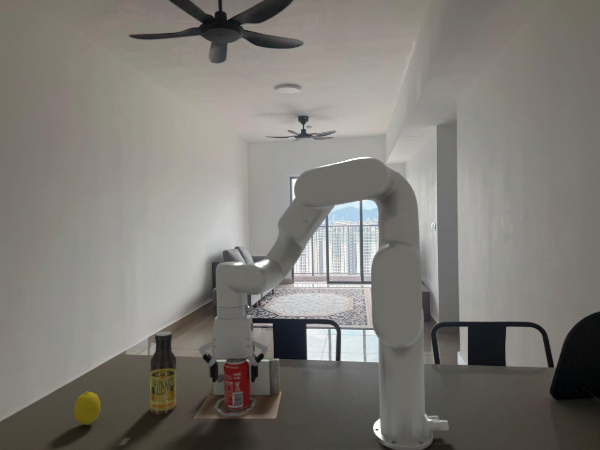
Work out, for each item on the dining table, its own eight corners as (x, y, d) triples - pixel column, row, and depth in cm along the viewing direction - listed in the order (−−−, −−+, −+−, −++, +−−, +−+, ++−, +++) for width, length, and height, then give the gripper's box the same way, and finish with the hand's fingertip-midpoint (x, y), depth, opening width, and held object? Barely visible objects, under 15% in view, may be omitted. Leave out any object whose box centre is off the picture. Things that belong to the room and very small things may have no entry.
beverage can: (252, 401, 100) (251, 355, 100) (247, 413, 94) (245, 364, 94) (228, 400, 101) (227, 354, 100) (221, 413, 94) (220, 364, 94)
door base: (281, 395, 105) (280, 358, 105) (276, 422, 91) (274, 380, 91) (210, 395, 106) (209, 359, 106) (193, 422, 92) (192, 380, 92)
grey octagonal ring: (258, 397, 102) (257, 394, 102) (251, 417, 92) (251, 413, 92) (221, 398, 102) (220, 395, 102) (210, 417, 93) (210, 413, 93)
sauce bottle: (148, 420, 94) (146, 338, 93) (151, 408, 100) (148, 331, 100) (177, 416, 96) (174, 335, 95) (178, 404, 102) (175, 328, 101)
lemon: (95, 416, 97) (93, 384, 96) (105, 423, 93) (103, 390, 93) (70, 426, 92) (69, 392, 92) (80, 434, 89) (79, 399, 89)
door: (274, 392, 104) (274, 359, 104) (273, 397, 102) (272, 362, 101) (215, 393, 105) (213, 359, 105) (212, 397, 102) (211, 363, 102)
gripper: (269, 307, 100) (271, 373, 100) (202, 308, 101) (204, 374, 101) (264, 315, 93) (267, 386, 93) (193, 316, 93) (195, 386, 94)
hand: (234, 380), depth 97 cm, fingers open, 9 cm apart
